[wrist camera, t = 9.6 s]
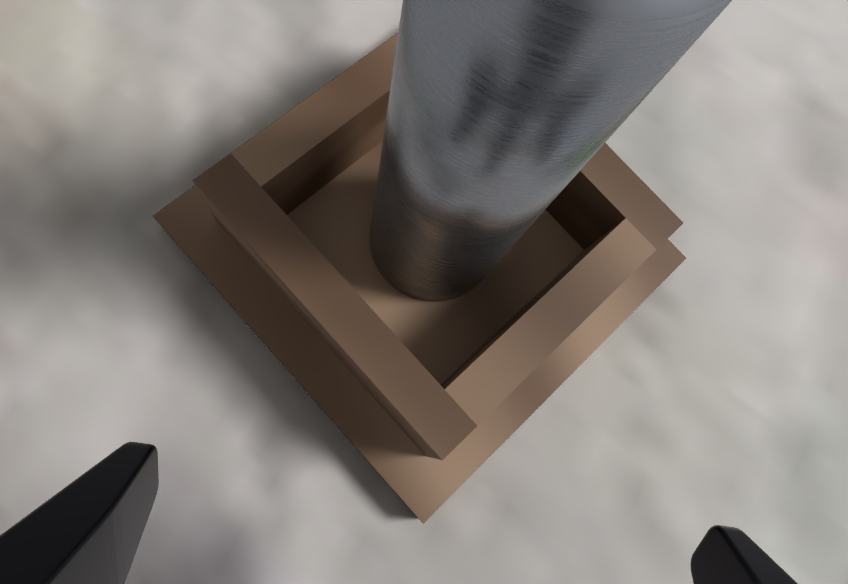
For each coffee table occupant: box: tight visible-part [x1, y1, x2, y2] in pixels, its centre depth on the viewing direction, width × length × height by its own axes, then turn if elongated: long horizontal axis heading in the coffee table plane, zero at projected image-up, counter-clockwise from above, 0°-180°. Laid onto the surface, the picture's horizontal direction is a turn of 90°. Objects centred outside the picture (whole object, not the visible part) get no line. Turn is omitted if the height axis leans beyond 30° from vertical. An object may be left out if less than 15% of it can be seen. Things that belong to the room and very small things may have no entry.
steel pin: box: [369, 0, 732, 302], centre depth 13 cm, size 4×4×13 cm
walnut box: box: [153, 33, 686, 524], centre depth 18 cm, size 12×12×4 cm
